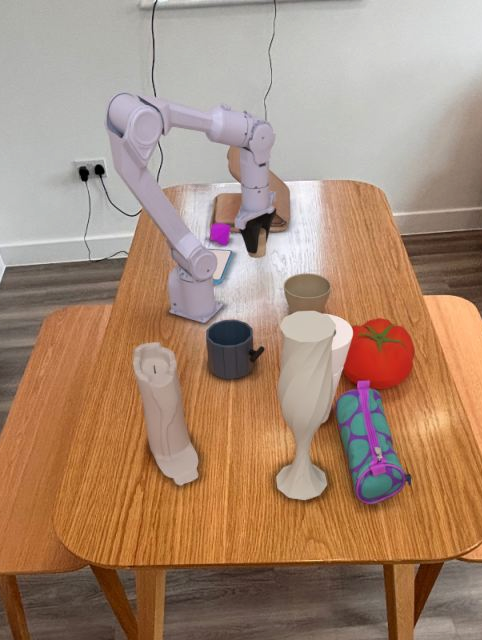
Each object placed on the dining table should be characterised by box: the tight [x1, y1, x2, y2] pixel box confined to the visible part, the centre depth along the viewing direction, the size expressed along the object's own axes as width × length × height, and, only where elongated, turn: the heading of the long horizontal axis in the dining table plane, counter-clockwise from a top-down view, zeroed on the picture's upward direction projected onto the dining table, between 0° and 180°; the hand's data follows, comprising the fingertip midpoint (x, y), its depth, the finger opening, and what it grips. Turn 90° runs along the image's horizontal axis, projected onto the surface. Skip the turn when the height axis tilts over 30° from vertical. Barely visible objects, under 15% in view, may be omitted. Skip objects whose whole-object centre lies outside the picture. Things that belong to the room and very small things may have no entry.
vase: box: [275, 311, 336, 501], centre depth 96 cm, size 9×8×30 cm
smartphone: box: [207, 248, 234, 285], centre depth 153 cm, size 8×1×15 cm
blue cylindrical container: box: [205, 319, 265, 380], centre depth 125 cm, size 11×9×8 cm
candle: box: [132, 341, 200, 486], centre depth 104 cm, size 7×14×20 cm, turn 24°
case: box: [209, 145, 291, 233], centre depth 165 cm, size 20×21×16 cm
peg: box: [247, 228, 267, 259], centre depth 139 cm, size 4×4×5 cm
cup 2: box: [321, 313, 353, 424], centre depth 111 cm, size 11×11×18 cm
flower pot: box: [283, 272, 332, 314], centre depth 137 cm, size 10×10×7 cm
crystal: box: [208, 222, 231, 247], centre depth 160 cm, size 5×5×5 cm
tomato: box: [342, 317, 416, 390], centre depth 122 cm, size 14×16×10 cm
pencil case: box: [334, 381, 412, 505], centre depth 106 cm, size 21×9×10 cm, turn 5°
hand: (256, 247), depth 140 cm, fingers closed on peg, 4 cm apart
